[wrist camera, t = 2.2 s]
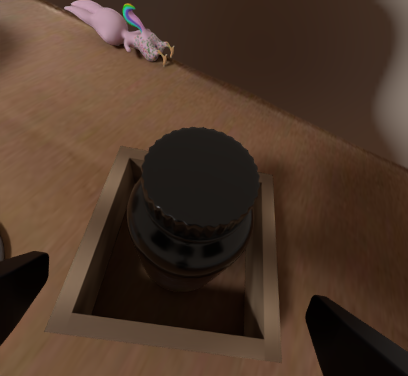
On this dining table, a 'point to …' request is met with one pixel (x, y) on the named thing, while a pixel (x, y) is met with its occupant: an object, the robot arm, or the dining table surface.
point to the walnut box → (161, 334)
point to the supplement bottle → (192, 207)
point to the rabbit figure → (120, 28)
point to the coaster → (1, 250)
